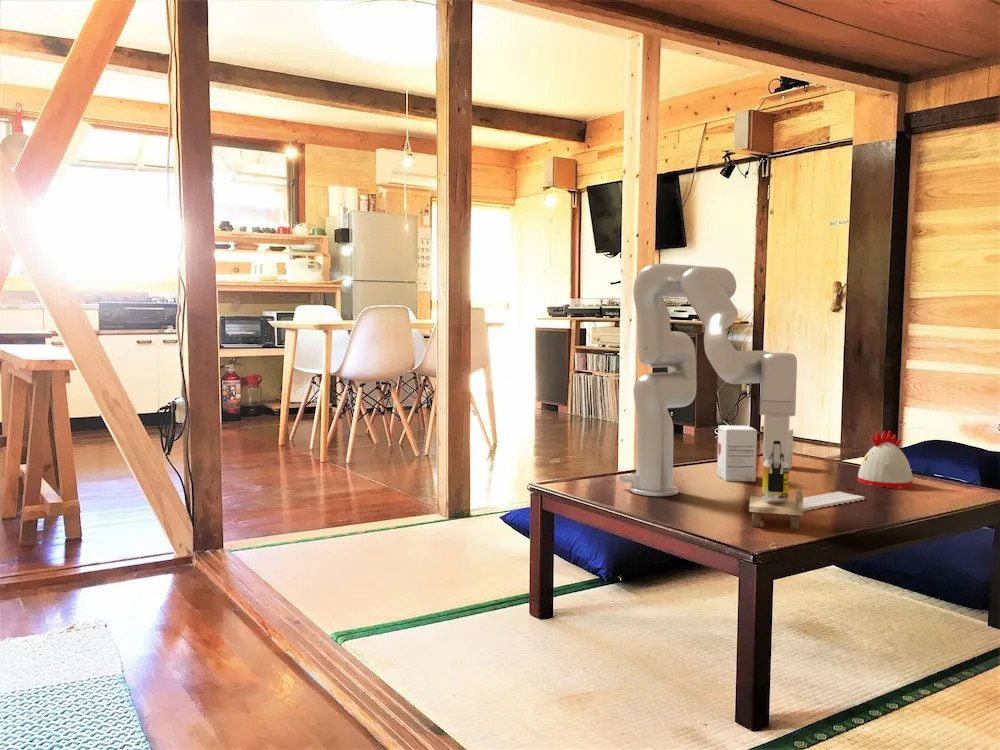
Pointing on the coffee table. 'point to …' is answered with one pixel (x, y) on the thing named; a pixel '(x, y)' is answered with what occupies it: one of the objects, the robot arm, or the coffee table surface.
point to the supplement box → (737, 453)
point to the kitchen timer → (886, 464)
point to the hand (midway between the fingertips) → (775, 487)
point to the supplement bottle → (765, 493)
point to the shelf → (777, 509)
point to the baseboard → (829, 500)
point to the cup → (789, 449)
